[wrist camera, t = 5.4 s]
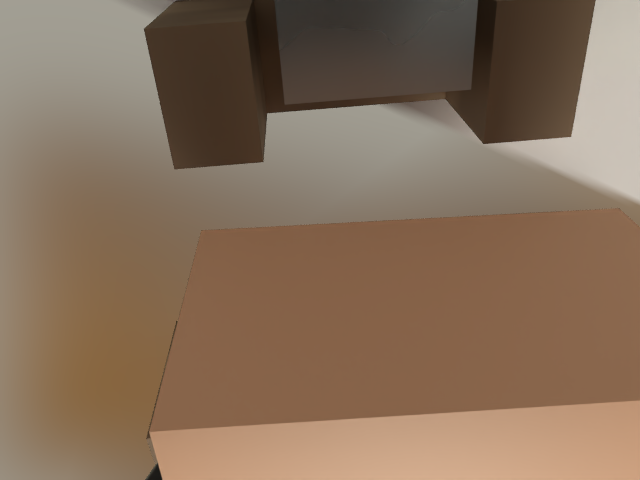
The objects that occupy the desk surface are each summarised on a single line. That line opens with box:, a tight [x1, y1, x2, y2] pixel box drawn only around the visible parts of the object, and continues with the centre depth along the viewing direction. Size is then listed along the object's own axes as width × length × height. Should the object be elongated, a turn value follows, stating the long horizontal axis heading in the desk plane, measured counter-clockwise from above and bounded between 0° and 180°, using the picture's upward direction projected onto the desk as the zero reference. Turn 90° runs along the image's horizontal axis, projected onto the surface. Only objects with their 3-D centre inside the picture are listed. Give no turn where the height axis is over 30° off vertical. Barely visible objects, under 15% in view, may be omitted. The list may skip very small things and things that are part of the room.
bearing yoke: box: [144, 0, 596, 169], centre depth 11 cm, size 7×2×3 cm, turn 94°
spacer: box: [149, 208, 640, 480], centre depth 8 cm, size 6×6×4 cm
